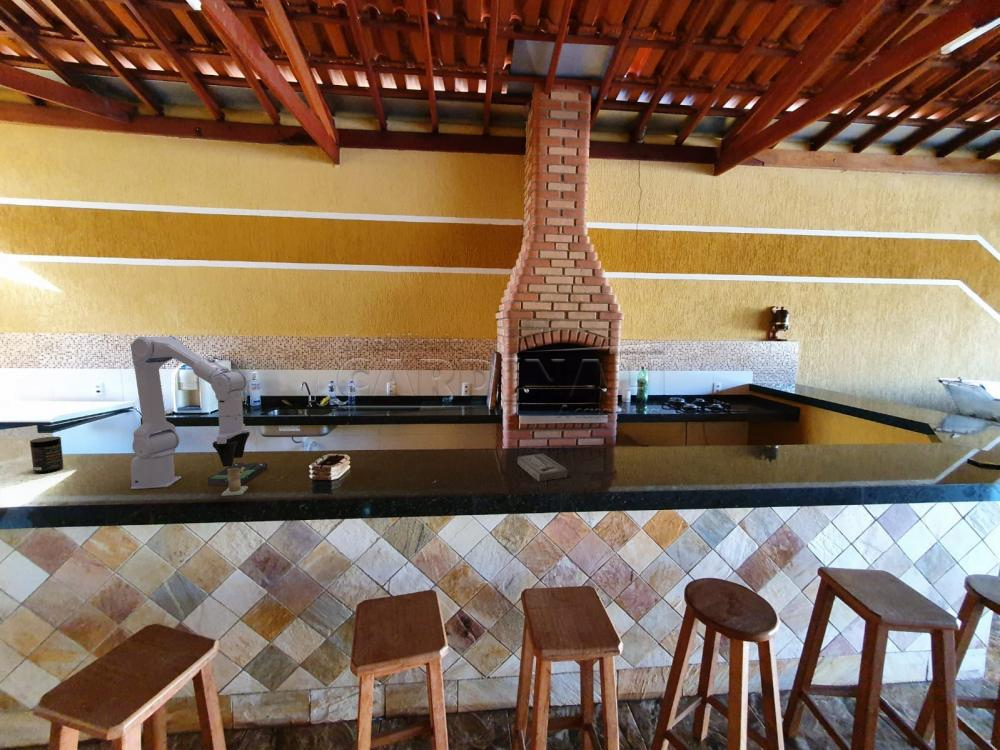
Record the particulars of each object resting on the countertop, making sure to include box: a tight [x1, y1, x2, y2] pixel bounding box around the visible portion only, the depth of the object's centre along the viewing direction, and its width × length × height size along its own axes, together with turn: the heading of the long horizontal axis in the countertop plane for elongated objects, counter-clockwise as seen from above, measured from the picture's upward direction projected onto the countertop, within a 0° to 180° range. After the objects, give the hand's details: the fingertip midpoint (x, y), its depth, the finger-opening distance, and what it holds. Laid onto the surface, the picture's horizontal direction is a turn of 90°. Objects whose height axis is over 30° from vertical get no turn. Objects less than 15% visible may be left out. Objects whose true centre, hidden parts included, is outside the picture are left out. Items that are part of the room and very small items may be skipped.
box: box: [517, 453, 568, 482], centre depth 141 cm, size 11×17×3 cm, turn 22°
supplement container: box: [29, 436, 65, 475], centre depth 133 cm, size 7×7×10 cm
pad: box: [221, 485, 249, 497], centre depth 119 cm, size 5×5×1 cm
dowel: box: [228, 468, 241, 492], centre depth 119 cm, size 3×3×6 cm
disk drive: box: [207, 462, 268, 487], centre depth 131 cm, size 10×3×15 cm
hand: (233, 461), depth 118 cm, fingers open, 7 cm apart
